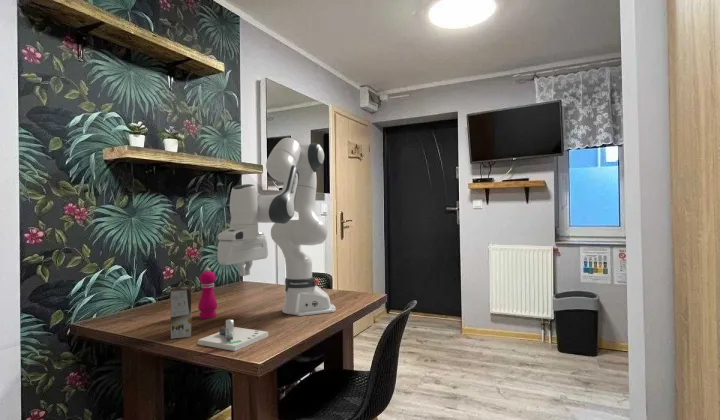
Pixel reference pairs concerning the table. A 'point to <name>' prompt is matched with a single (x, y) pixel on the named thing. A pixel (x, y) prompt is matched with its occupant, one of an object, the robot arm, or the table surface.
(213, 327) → the table surface
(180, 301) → the coffee box
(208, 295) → the pepper mill
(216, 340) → the dial plate
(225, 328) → the crank
